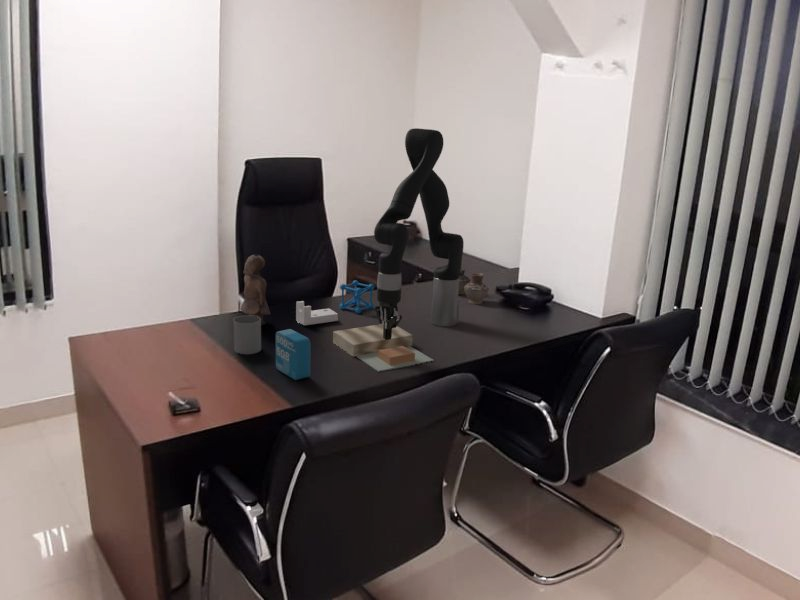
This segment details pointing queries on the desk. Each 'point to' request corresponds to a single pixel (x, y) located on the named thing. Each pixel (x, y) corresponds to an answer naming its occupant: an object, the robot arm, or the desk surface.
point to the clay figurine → (254, 289)
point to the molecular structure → (356, 296)
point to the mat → (382, 366)
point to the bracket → (313, 315)
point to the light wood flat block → (370, 339)
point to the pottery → (472, 287)
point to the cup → (247, 334)
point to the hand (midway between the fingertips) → (387, 338)
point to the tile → (396, 355)
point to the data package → (293, 354)
